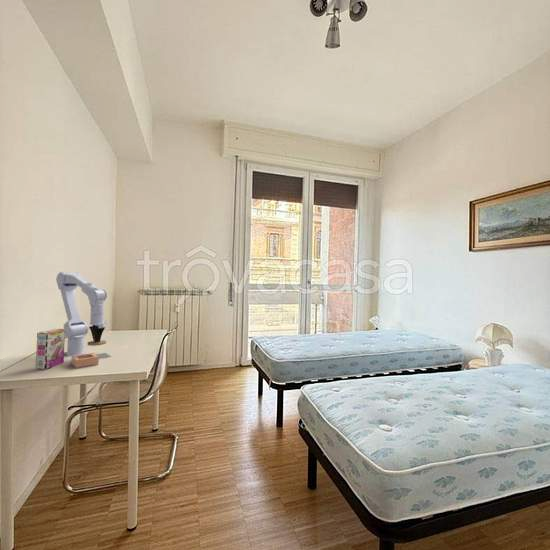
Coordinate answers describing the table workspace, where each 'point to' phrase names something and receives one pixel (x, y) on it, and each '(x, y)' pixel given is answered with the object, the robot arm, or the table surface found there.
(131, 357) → the table surface
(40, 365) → the candy bar box
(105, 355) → the mat
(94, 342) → the lid
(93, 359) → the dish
